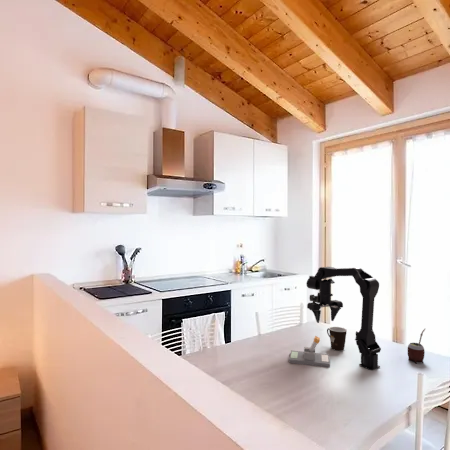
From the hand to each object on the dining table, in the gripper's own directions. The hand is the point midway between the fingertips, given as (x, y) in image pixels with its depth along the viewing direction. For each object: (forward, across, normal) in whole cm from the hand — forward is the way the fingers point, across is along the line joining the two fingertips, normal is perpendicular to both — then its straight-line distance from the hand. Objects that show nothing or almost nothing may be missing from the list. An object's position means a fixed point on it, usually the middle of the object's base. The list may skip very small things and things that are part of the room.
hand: (325, 321), depth 180 cm
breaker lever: (+11, +16, +8) cm, 21 cm away
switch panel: (+14, +16, +8) cm, 23 cm away
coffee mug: (+14, -7, 0) cm, 16 cm away
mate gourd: (+15, -30, +28) cm, 44 cm away
